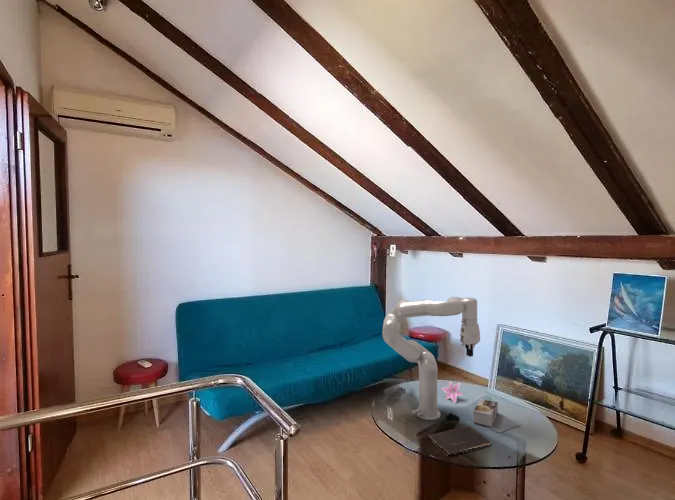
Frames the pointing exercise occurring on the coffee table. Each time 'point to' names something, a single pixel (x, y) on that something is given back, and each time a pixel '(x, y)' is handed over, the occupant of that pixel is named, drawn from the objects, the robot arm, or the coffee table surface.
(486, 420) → the coffee box
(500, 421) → the slate mat
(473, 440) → the hardcover book
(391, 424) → the coffee table surface
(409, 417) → the coffee table surface
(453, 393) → the lily
